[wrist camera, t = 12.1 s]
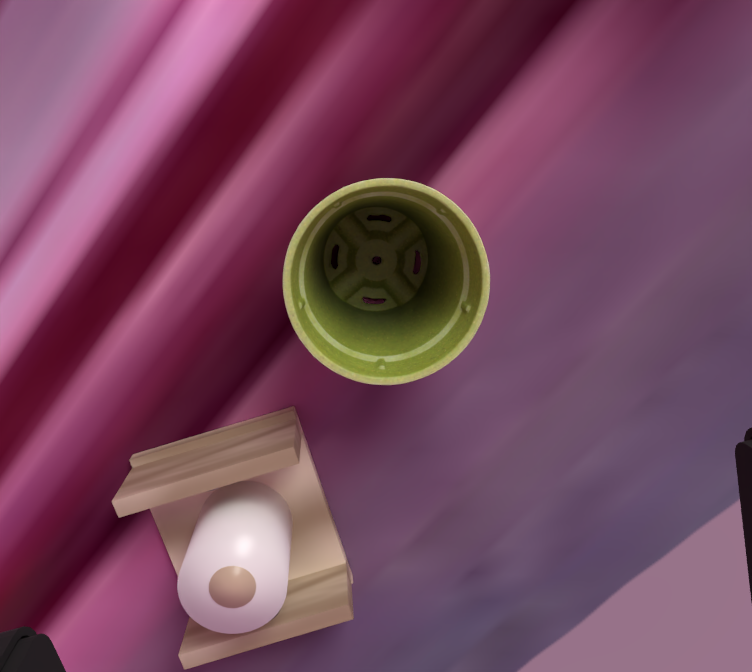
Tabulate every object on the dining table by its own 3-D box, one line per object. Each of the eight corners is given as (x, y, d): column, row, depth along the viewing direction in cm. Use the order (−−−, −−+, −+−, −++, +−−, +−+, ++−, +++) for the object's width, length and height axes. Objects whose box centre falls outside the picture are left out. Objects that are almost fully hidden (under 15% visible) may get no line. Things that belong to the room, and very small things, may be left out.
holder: (132, 454, 42) (108, 493, 37) (294, 406, 42) (290, 438, 37) (201, 621, 45) (187, 676, 40) (352, 575, 45) (356, 626, 40)
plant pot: (290, 337, 41) (281, 383, 33) (292, 170, 39) (283, 174, 30) (450, 341, 42) (482, 387, 33) (461, 177, 40) (498, 182, 31)
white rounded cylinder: (185, 496, 42) (160, 557, 36) (275, 469, 42) (267, 525, 36) (217, 575, 44) (198, 647, 37) (304, 549, 44) (301, 617, 37)
